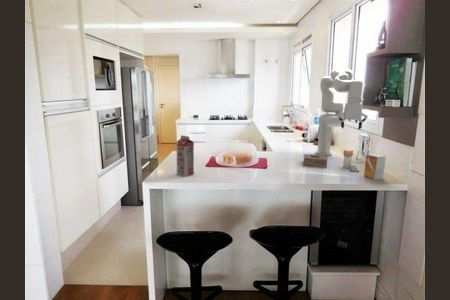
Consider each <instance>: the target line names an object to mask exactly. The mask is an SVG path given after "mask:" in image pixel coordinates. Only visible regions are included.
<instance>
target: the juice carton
mask: <svg viewBox="0 0 450 300" xmlns="http://www.w3.org/2000/svg"><path fill="white" fill-rule="evenodd" d="M194 146H195V142H194V141H193V140H192V139H190V136H187V135H180V138H179V139H178V140H177V141H176V175H177V176H180V177H183V178H187V177H190V176H193V175H194V172H195V171H194V168H195V167H194V164H195V161H194V159H195V157H194V155H195V153H194V151H195V150H194Z"/></svg>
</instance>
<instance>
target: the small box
mask: <svg viewBox="0 0 450 300" xmlns="http://www.w3.org/2000/svg"><path fill="white" fill-rule="evenodd" d="M386 159H387V156H385V155H381V154H377V153H367V154H366V155H365V165H364V171H363V176H365V177H368V178H370V179H372V180H383V179H384V174H385V165H386Z"/></svg>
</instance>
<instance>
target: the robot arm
mask: <svg viewBox="0 0 450 300" xmlns="http://www.w3.org/2000/svg"><path fill="white" fill-rule="evenodd" d="M329 74H330V75H328V76H324V77H322V78H321V79H320V85H319V86H320V91H321V112H323V113H324V114H320V116H319V118H318V125H319V126H318V127H319V128H318V129H319V130H318V138H317V139H318V142H317V143H318V144H317V151H315V153H314V155H325V156H326V157H327V156H332V155H333V153H332V152H331V145H332V135H333V132H332V130H331V129H330V127H332V128H333V127H337V128H338V127H340V128H341V129H342V130H343V129H344V128H345V121H346V120H357V121H358V127H357V128H358V130H361V129H362V127H363V123H364V122H365V121H366V120H367V119H368V117H369V116H368V115H366V114H364V113H363V105H362V104H363V102H364V99H363V98H362V93H363V86H364V85H363V84H364V82H363V80H358V79H357V80H355V79H353V75H354V74H353V72H352V70H351V69H349V68H335V69H333V70H331V72H330V73H329ZM352 79H353V80H352ZM332 89H334V90H335V91H336V92H337V93H347V101H346V103H345V105H344V104H343V101H342V100H338V99H334V97H335V95H334V92H333V90H332ZM331 113H333V114H331ZM362 117H363V118H362Z"/></svg>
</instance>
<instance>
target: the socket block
mask: <svg viewBox="0 0 450 300" xmlns="http://www.w3.org/2000/svg"><path fill="white" fill-rule="evenodd" d="M327 164H328V159H327V156H325V155H318V154H310V153H308V154H306V153H304V154H303V167H314V168H325V169H326V168H327Z"/></svg>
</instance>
